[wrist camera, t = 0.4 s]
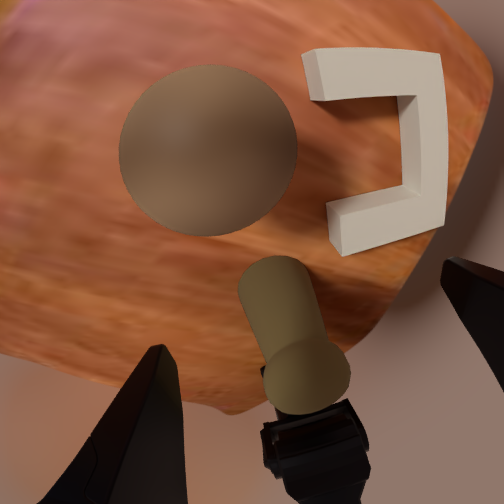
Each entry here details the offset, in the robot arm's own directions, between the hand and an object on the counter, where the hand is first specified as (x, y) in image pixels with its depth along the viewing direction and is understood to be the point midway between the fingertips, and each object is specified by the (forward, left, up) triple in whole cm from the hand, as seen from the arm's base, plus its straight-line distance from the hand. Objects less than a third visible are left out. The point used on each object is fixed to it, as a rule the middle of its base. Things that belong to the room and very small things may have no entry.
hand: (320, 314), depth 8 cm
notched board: (+1, -10, -13) cm, 16 cm away
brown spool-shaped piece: (+4, +2, -13) cm, 14 cm away
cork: (-9, 0, -13) cm, 16 cm away
